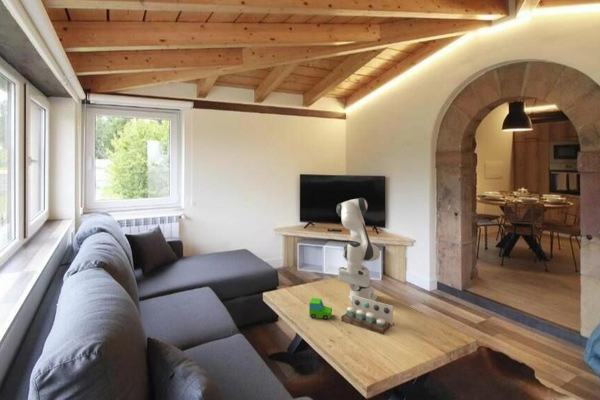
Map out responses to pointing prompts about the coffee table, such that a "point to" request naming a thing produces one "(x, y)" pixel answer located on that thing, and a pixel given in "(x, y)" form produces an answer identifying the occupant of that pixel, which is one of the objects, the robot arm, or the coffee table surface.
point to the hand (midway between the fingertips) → (353, 290)
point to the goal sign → (374, 308)
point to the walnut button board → (365, 324)
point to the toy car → (319, 309)
